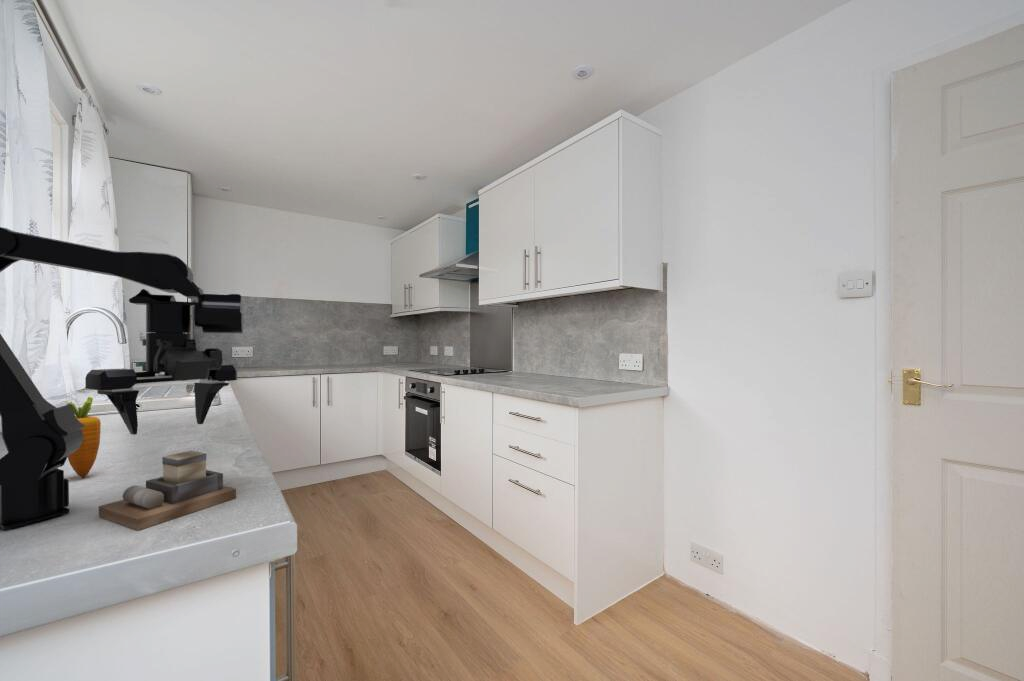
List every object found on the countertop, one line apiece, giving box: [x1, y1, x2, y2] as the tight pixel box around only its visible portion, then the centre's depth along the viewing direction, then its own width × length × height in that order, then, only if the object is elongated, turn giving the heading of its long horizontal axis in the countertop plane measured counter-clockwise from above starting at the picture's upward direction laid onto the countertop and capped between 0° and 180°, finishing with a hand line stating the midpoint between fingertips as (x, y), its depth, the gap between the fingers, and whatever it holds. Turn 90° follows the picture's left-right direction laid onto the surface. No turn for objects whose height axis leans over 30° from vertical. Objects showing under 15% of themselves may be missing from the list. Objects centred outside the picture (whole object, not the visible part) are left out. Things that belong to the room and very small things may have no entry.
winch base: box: [98, 469, 237, 531], centre depth 66 cm, size 13×11×4 cm
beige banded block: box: [162, 450, 207, 485], centre depth 68 cm, size 4×4×6 cm
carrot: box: [66, 396, 102, 478], centre depth 81 cm, size 5×5×15 cm
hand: (168, 428), depth 70 cm, fingers open, 9 cm apart
